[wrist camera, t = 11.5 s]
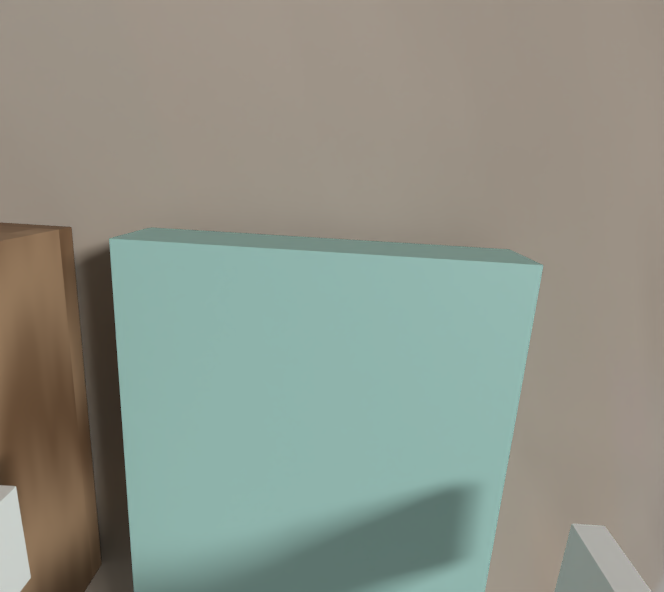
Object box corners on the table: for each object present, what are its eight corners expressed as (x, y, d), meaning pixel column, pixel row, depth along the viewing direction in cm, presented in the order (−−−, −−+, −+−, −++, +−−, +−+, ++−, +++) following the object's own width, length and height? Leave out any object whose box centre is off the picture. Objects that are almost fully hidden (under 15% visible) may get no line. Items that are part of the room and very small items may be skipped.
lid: (168, 222, 15) (109, 238, 12) (493, 242, 15) (543, 265, 11) (181, 577, 19) (139, 678, 16) (440, 597, 19) (464, 703, 15)
